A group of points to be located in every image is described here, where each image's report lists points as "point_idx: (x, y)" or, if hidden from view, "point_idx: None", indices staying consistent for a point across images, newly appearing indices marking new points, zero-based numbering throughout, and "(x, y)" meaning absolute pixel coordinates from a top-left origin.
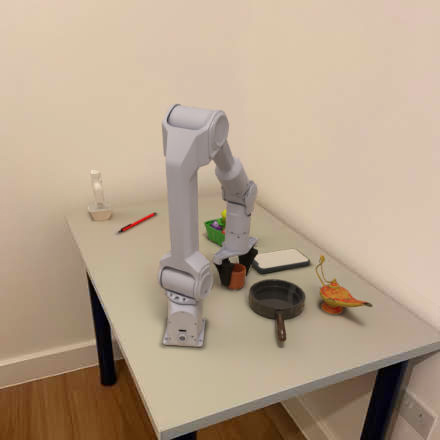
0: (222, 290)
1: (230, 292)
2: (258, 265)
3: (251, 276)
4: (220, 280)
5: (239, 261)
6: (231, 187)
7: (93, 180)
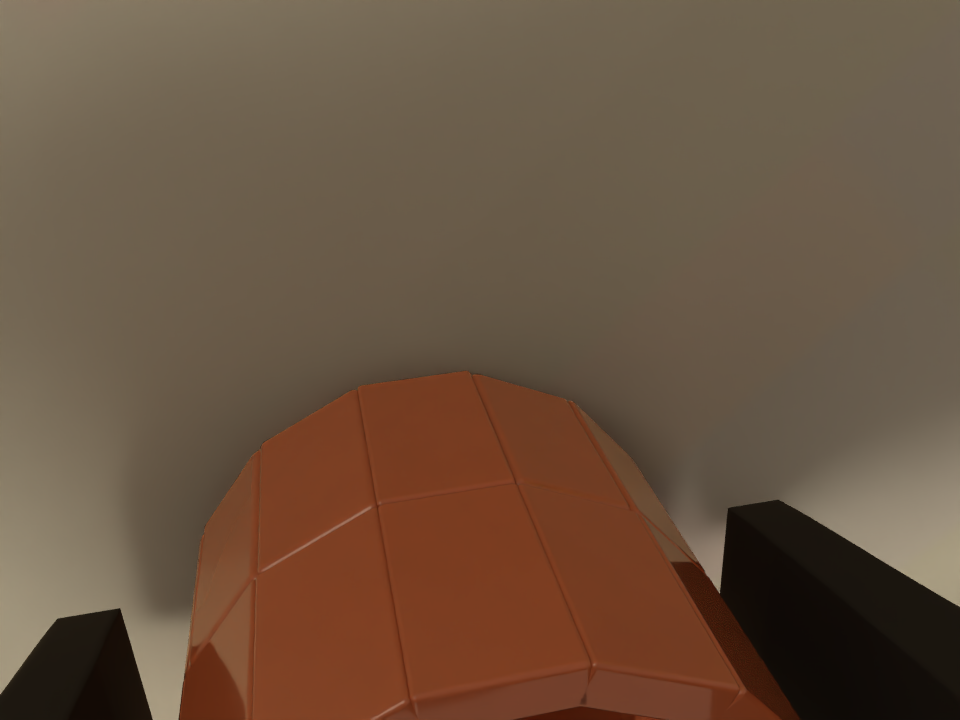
0: (77, 582)
1: (173, 696)
2: None
3: (900, 497)
4: (7, 690)
5: (951, 717)
6: None
7: None
